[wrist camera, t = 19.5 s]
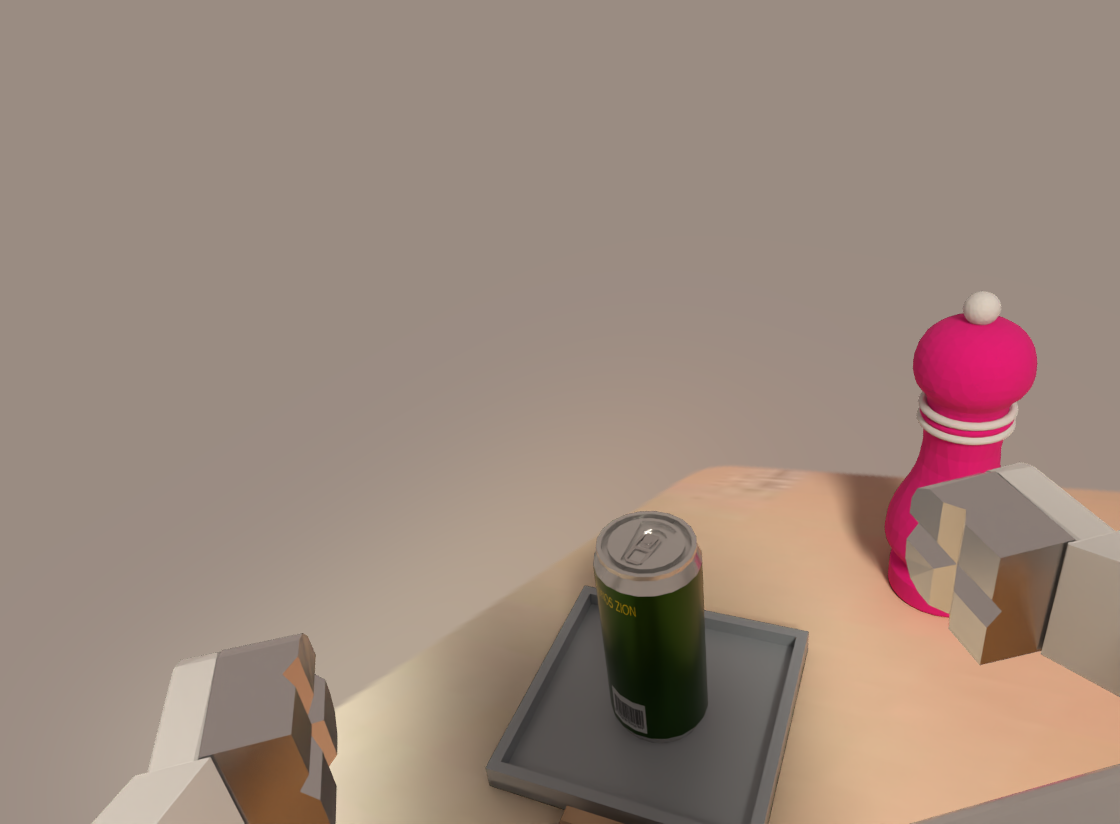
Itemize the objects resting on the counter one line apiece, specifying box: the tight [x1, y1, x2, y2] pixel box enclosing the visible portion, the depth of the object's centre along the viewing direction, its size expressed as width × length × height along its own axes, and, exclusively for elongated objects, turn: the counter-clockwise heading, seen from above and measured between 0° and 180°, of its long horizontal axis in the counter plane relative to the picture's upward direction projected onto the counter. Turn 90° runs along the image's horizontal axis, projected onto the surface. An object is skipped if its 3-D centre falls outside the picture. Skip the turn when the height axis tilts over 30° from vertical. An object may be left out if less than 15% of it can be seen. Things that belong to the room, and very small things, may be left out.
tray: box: [486, 586, 809, 824], centre depth 48 cm, size 14×14×2 cm
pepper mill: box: [885, 291, 1037, 617], centre depth 49 cm, size 7×7×20 cm
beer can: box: [593, 511, 708, 743], centre depth 44 cm, size 5×5×12 cm
